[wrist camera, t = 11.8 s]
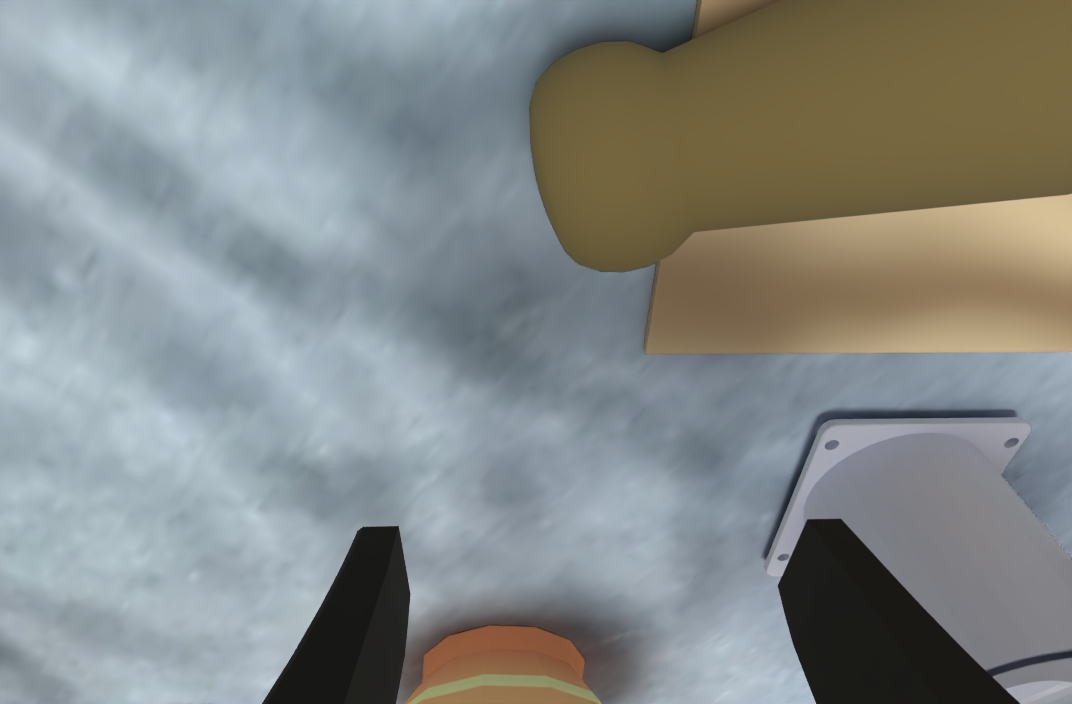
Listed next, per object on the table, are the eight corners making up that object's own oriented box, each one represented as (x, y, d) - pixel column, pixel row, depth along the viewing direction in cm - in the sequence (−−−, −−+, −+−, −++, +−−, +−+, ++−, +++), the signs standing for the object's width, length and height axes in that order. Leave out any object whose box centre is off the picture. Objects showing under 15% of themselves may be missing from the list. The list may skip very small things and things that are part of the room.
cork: (994, 198, 16) (582, 287, 19) (968, -51, 15) (536, 79, 18) (1181, 189, 10) (550, 321, 13) (1160, -212, 9) (478, 13, 12)
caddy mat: (1090, 344, 22) (1101, 353, 22) (643, 347, 22) (646, 355, 21) (1636, -450, 11) (1676, -463, 11) (775, -499, 11) (785, -514, 10)
